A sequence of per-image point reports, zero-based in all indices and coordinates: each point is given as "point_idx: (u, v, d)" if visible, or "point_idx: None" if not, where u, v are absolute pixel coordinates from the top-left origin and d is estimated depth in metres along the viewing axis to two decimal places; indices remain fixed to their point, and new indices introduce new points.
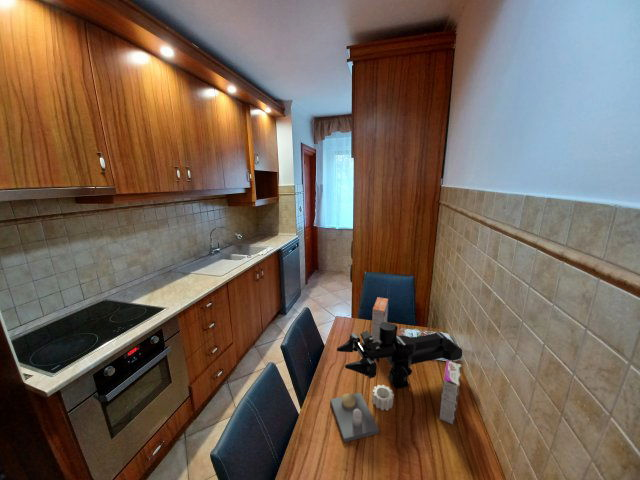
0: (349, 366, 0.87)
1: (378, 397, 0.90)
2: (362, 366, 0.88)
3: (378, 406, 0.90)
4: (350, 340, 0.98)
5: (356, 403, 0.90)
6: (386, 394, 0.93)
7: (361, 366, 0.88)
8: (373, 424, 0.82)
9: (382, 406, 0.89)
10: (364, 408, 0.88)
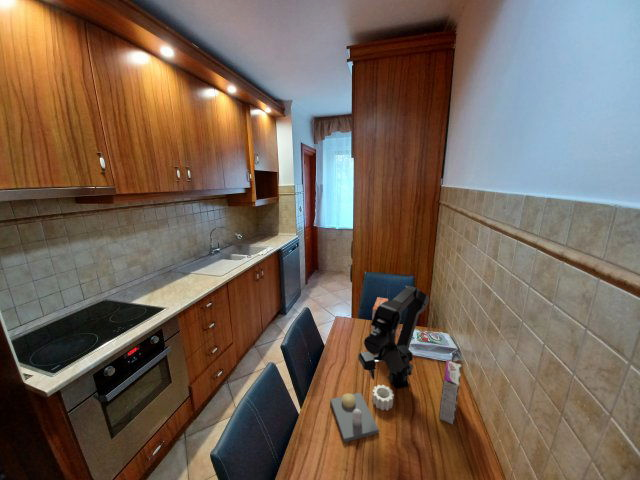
0: None
1: (378, 397, 0.90)
2: None
3: (378, 406, 0.90)
4: (373, 369, 0.85)
5: (356, 403, 0.90)
6: (386, 394, 0.93)
7: None
8: (373, 424, 0.82)
9: (382, 406, 0.89)
10: (364, 408, 0.88)
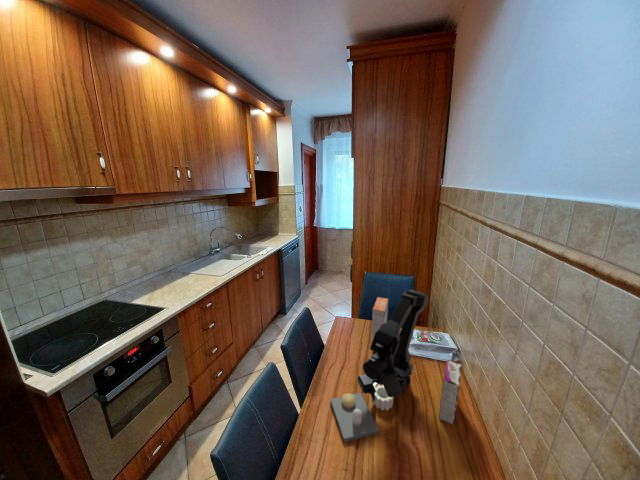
0: None
1: (378, 397, 0.90)
2: None
3: (378, 406, 0.90)
4: (373, 392, 0.88)
5: (356, 403, 0.90)
6: (386, 394, 0.93)
7: None
8: (373, 424, 0.82)
9: (382, 406, 0.89)
10: (364, 408, 0.88)
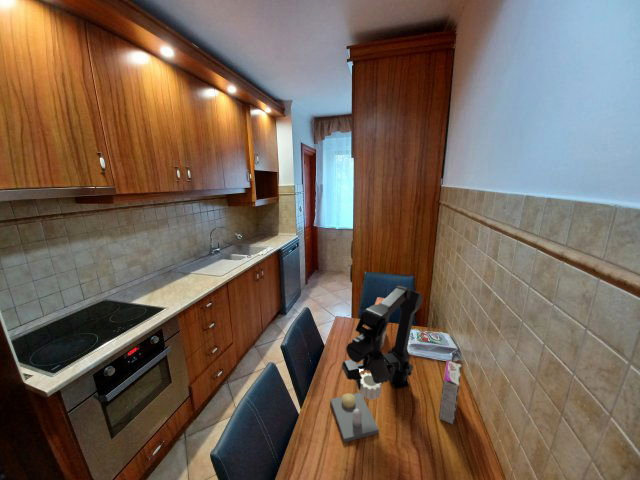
0: None
1: (364, 385, 0.82)
2: None
3: (364, 395, 0.82)
4: (359, 379, 0.80)
5: (356, 403, 0.90)
6: (374, 383, 0.86)
7: None
8: (373, 424, 0.82)
9: (369, 395, 0.81)
10: (364, 408, 0.88)
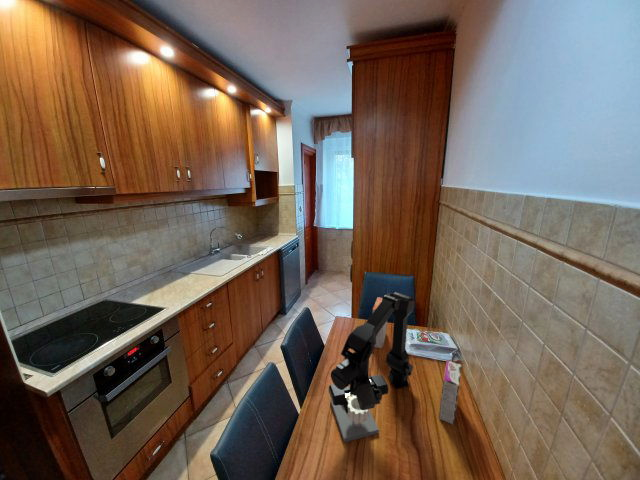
0: None
1: (352, 409, 0.79)
2: None
3: (352, 419, 0.79)
4: (345, 404, 0.77)
5: None
6: None
7: None
8: (373, 424, 0.82)
9: (356, 419, 0.78)
10: None
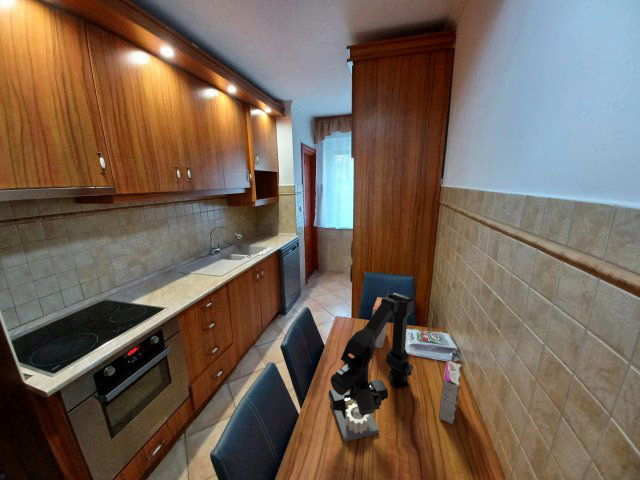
0: None
1: (351, 418, 0.80)
2: None
3: (351, 428, 0.80)
4: (343, 409, 0.77)
5: (356, 403, 0.90)
6: None
7: None
8: (373, 424, 0.82)
9: (355, 429, 0.79)
10: None
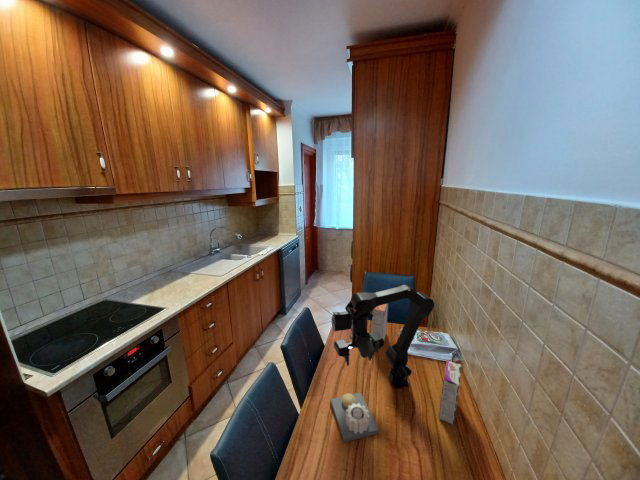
0: None
1: (351, 418, 0.80)
2: None
3: (351, 428, 0.80)
4: (347, 356, 0.91)
5: (356, 403, 0.90)
6: None
7: None
8: (373, 424, 0.82)
9: (355, 429, 0.79)
10: None
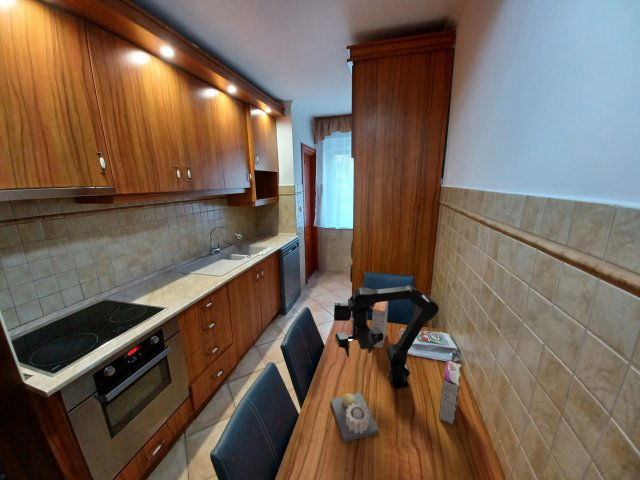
0: None
1: (351, 418, 0.80)
2: None
3: (351, 428, 0.80)
4: (347, 347, 0.95)
5: (356, 403, 0.90)
6: None
7: None
8: (373, 424, 0.82)
9: (355, 429, 0.79)
10: None
